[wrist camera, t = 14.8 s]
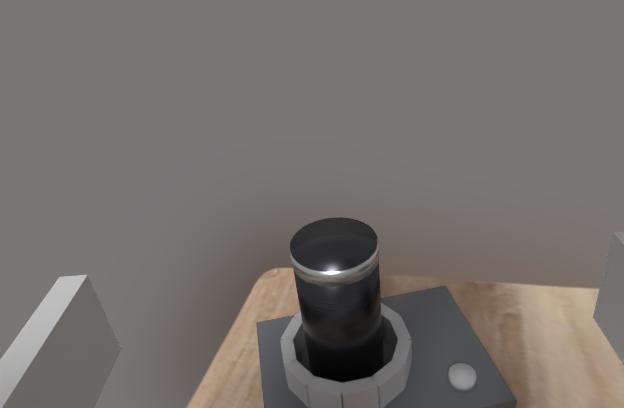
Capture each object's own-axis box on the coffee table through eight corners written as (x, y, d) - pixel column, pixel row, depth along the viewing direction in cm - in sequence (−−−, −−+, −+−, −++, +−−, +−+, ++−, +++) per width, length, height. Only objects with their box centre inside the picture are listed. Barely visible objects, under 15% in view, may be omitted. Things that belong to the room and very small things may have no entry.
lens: (373, 327, 43) (365, 211, 37) (394, 384, 38) (389, 259, 32) (304, 341, 42) (284, 225, 36) (315, 401, 37) (295, 277, 31)
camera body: (443, 331, 50) (446, 264, 45) (508, 450, 39) (520, 376, 34) (266, 367, 48) (251, 301, 44) (280, 501, 37) (262, 431, 33)
